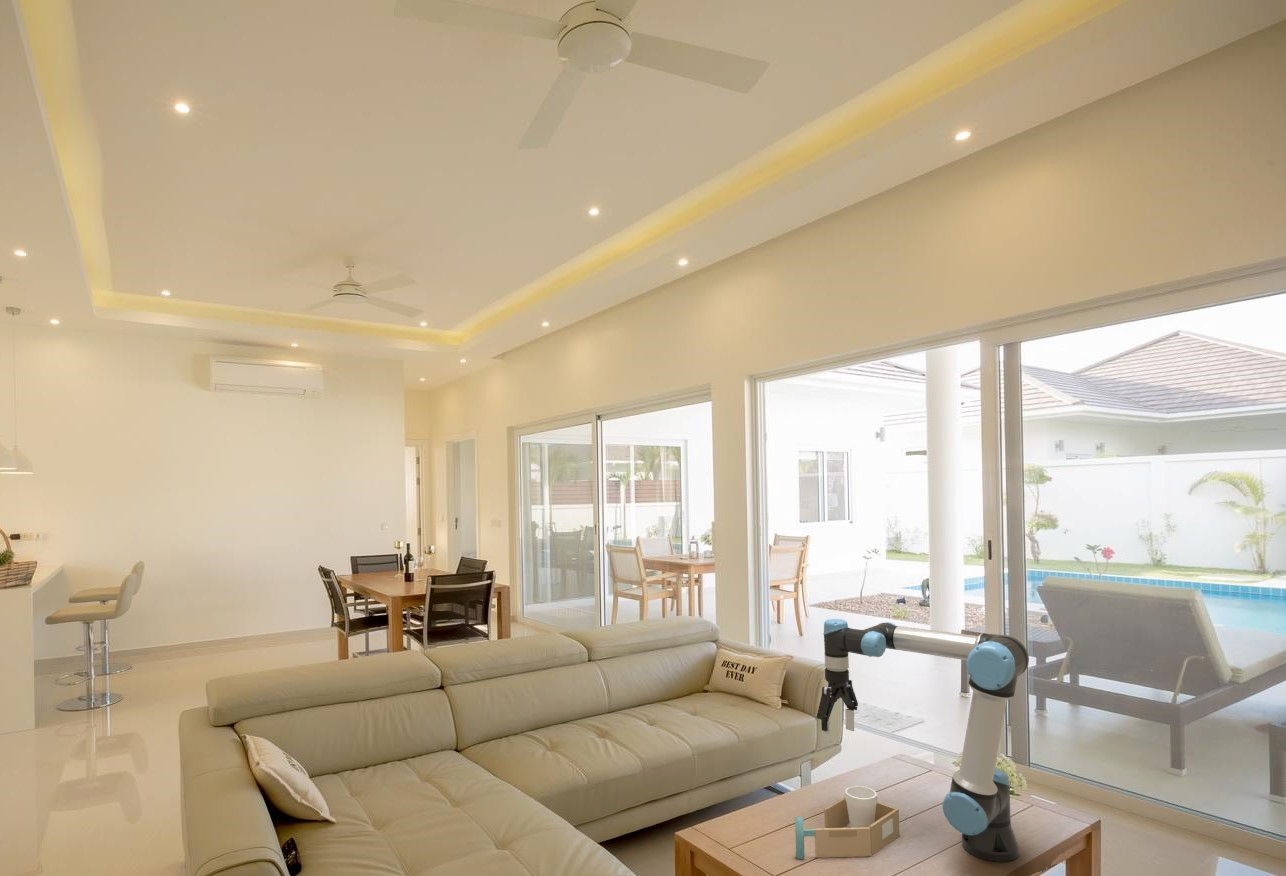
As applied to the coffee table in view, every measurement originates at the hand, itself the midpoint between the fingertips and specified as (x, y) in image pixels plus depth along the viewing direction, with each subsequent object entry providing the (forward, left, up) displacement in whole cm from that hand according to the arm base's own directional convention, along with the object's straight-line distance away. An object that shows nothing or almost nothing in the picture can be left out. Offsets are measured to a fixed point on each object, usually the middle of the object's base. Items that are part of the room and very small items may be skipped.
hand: (838, 735), depth 234 cm
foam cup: (-10, +4, -27) cm, 29 cm away
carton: (-10, +4, -27) cm, 29 cm away
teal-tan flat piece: (-11, +21, -26) cm, 35 cm away
